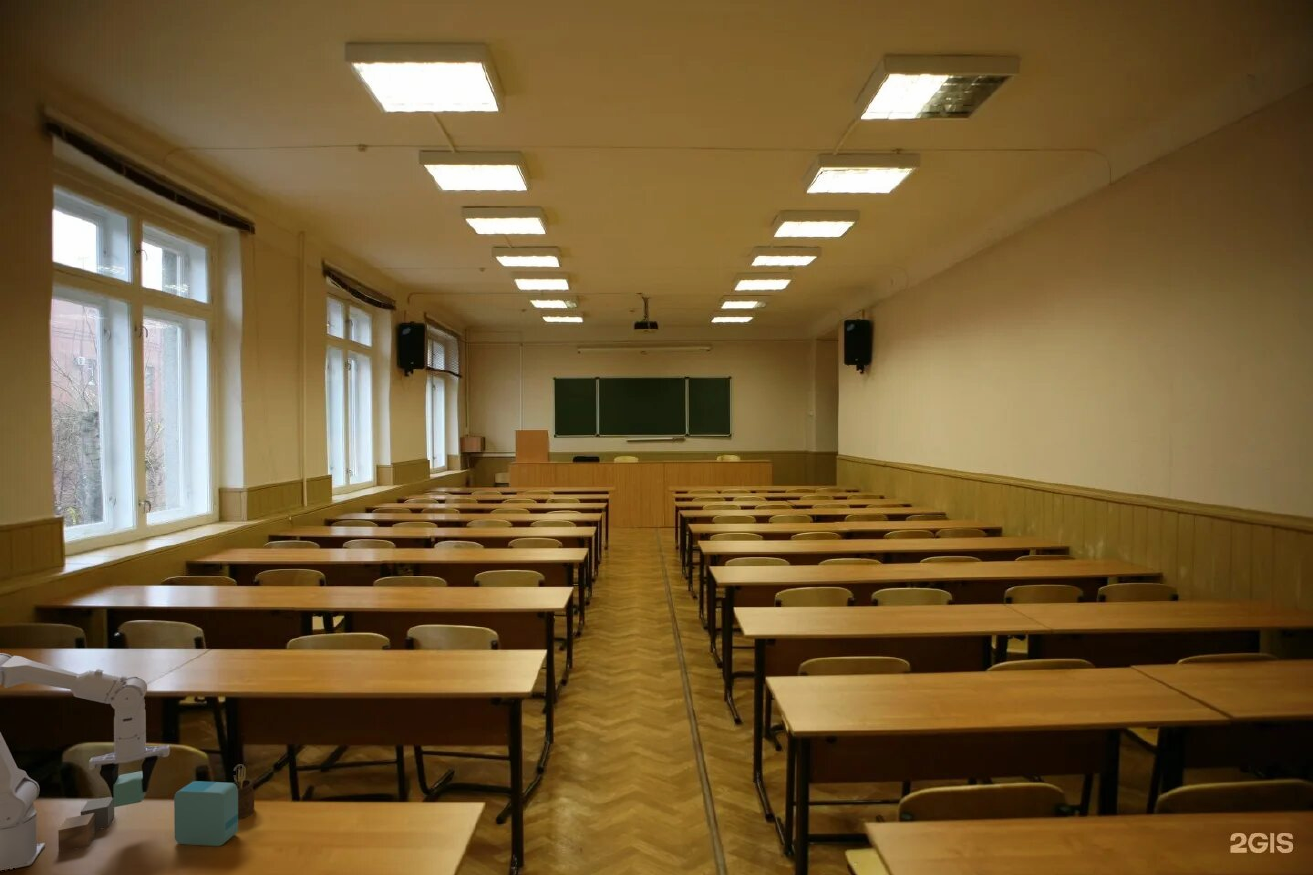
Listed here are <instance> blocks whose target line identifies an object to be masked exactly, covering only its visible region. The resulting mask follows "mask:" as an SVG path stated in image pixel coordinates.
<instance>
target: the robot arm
mask: <svg viewBox="0 0 1313 875" xmlns="http://www.w3.org/2000/svg"><path fill="white" fill-rule="evenodd" d="M103 672H104V670H103V669H99V668H96V670H95V671H94V670H87V671H85V672H83V673H77V672H73V671H70V670H67V669H64V668H63V669H62V668H58V667H55V666H51V665H49V664H45V663H41V662H39V661H34V660H31V659H29V658H26V657H24V656H22V655H21V656H20V655H13V656H12V655H10V654H8V653H3V652H2V653H1V652H0V687H1V686H2V685H3V686H4V687H3V689H7V688H11V687H15V686H18V685H21V684H24V683H30V684H37V685H41V686H42V685H43V686H48V687H54V688H59V689H64V690H70V691H71V693H72V694H73V697H75V698H79V699H84V700H88V701H93V702H98V703H102V704H107V705H110V706H111V707H112V708H113V709H114V717H113V735H114V736H113V747H114V748H113V749H114V750H113V752H111V753H107V754H104V755H100V756H94V757H91V758H90V759H89V761H88V770H89V771H91V770H95V769H96V768H100V770H99V776H100V777H101V778H102V779H103V781H104V782H105V784H106V785H107V787H108V789H109V791H110V795H111V797H112V798H114V784H115V782H116V780H117V779H118V777H119V766H120V765H121V764H125V763H131V762H136V761H137V762H138V761H142V760H143V762H142V763H141V771H142V773H143V787H142V788H143V792H146V793H147V791H148V790H149V786H150V780H151V777H152V773H153V771H154V769H155V766H156V763H157V762H158V759H159V757H162V758H166V757H168V756H169V755H170V752H171V751H170V750H171V747H170V744H167V745H153V746H150V745H148V746H147V736H146V735H147V732H146V730H147V724H146V722H147V719H146V718H147V716H146V715H147V714H146V713H147V712H146V711H147V710H146V709H145V708H146V703H145V701H146V700H145V696H146V694H147V691H148V684H147V683H146V681H145V680H144V679H142V678H140V677H138V676H130V677H127V676H124V675H121V676H115V675H112V674H108V673H107V674H106V673H103ZM12 755H13V754H12V753H11V751H10V749H9V746H8V745H7V743H6V740H5V738H4V737H3V735H2V732H1V731H0V870H4V869H10V870H14V869H13V868H15V869H19V868H23V867H29V866H31V865H32V864H33V863H34V861H35V860H36V859H37V857H39V856H38V855H40V853H41V852H42V850H43V849H44V848H45V846H46V844H45V842H41V843H38V829H37V828H38V821H37V820H38V818H37V817H38V816H37V815H38V814H37V812H38V810H37V808H36V806H35V805H34V802H35V801H36V799H38V797H39V794H40V785H39V783H38V782H37V781H35V780H34V779H32V778H31V777H29V775H28V774H27V772H26V771H25V770H23V769H21V768H18V766H17V764H16V762H15V759H14V758H13V757H14V756H12Z"/></svg>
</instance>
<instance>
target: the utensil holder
mask: <svg viewBox="0 0 1313 875" xmlns="http://www.w3.org/2000/svg"><path fill="white" fill-rule="evenodd" d="M240 767H242V768H240ZM237 768H238V769H237ZM233 770H238V772H237V776H234V777H233V778H234V780H235V781H234V782H232V783H234V784H235V785H236V786H237V788H238V820H240V819H243V818H247V817H248V816H249V815H251V814H252V813H253V812H254V810H255V790H254V788H253V786H254V785H253V781H252V780H251V779H246V773H247V768H246V767H245V766H244V764H242V763H241V764H237V766H235V767H234V768H233Z"/></svg>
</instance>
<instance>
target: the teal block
mask: <svg viewBox="0 0 1313 875" xmlns="http://www.w3.org/2000/svg"><path fill="white" fill-rule="evenodd" d="M142 787H143V773H142V770H140V771H136V772H135V771H134V772H130V773H123V774H119V775H118V779H117V780H116V782H115V784H114V808H117V807H123V806H127V805H133V804H139V803H142V802H143V800H144V797H145V796H146V794H147V792H143V788H142Z"/></svg>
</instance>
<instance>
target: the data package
mask: <svg viewBox="0 0 1313 875" xmlns="http://www.w3.org/2000/svg"><path fill="white" fill-rule="evenodd" d="M173 802H174V809H173V810H174V813H173V814H174V815H173V816H174V840H175V842H176V843H178V844H180V845H190V846H191V845H192V846H193V845H195V846H206V847H207V846H211V847H214V846H215V847H221V846H223V845H224V844H226V842H228V841H229V840H230V839H231V838H233V837H234V836H235V835H236V834H237V833H238V831H239V819H238V788H237V786H236V785H235V784H234V783H233V782H222V781H221V782H220V781H203V780H202V781H201V780H199V781H198V780H197V781H196V780H195V781H194V780H193V781H191V782H190V783H188V784H187V785H185V786H183V787H182V788H180V789H179V790H178V791H176V793H175V794H174V798H173Z"/></svg>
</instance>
